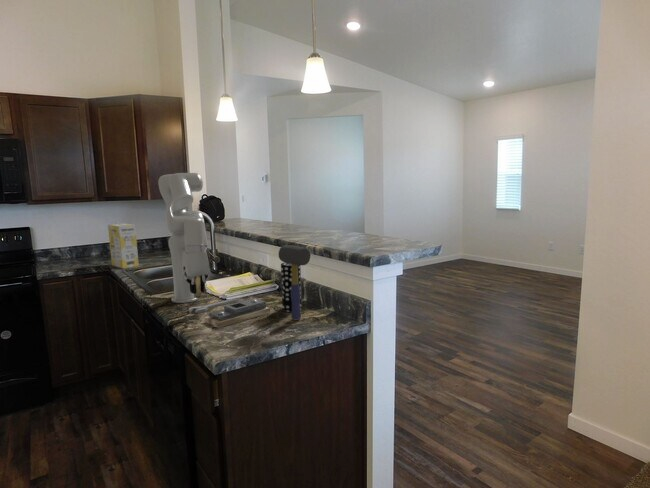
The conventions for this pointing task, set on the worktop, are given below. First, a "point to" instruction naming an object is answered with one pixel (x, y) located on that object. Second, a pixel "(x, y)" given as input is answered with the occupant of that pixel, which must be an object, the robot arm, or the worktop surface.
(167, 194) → the robot arm
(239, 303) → the pegged base plate
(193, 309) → the adjustable wrench
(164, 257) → the worktop surface
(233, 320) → the oak jig
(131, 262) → the pasta box
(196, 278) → the brass pin
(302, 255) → the rubber mallet
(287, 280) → the spotted tube
